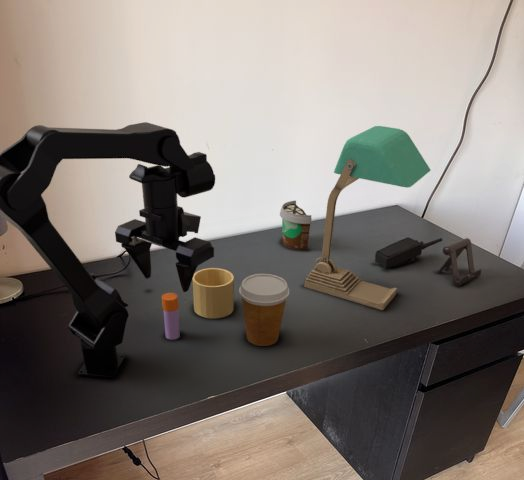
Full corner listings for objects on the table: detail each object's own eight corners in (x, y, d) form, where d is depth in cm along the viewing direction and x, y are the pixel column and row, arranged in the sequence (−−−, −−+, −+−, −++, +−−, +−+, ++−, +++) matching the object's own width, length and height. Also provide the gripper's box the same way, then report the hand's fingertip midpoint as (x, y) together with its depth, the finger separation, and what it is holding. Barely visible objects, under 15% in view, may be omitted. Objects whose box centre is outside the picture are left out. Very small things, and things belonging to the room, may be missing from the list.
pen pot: (230, 320, 110) (230, 288, 106) (189, 316, 111) (188, 285, 107) (236, 300, 117) (236, 269, 113) (198, 296, 118) (197, 266, 114)
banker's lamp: (326, 267, 132) (343, 118, 112) (406, 290, 124) (440, 133, 104) (297, 292, 121) (310, 132, 101) (383, 319, 113) (415, 149, 92)
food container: (272, 236, 147) (273, 201, 142) (292, 234, 149) (295, 199, 143) (287, 254, 138) (289, 217, 132) (308, 252, 139) (312, 215, 134)
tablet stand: (459, 287, 126) (468, 255, 121) (431, 275, 131) (439, 243, 126) (479, 277, 130) (489, 246, 126) (452, 266, 135) (460, 235, 130)
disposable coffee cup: (259, 319, 111) (261, 268, 104) (295, 336, 106) (300, 283, 99) (228, 338, 105) (228, 284, 98) (265, 357, 100) (268, 302, 93)
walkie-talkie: (369, 253, 135) (425, 232, 143) (379, 275, 135) (435, 252, 143) (382, 244, 129) (440, 222, 137) (392, 267, 129) (450, 244, 137)
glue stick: (178, 340, 104) (175, 300, 98) (163, 339, 104) (159, 299, 99) (182, 332, 106) (179, 293, 101) (167, 331, 106) (164, 291, 101)
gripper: (232, 202, 92) (231, 282, 101) (151, 181, 100) (157, 257, 109) (192, 220, 84) (195, 305, 93) (108, 196, 92) (118, 276, 101)
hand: (166, 284), depth 99 cm, fingers open, 9 cm apart
